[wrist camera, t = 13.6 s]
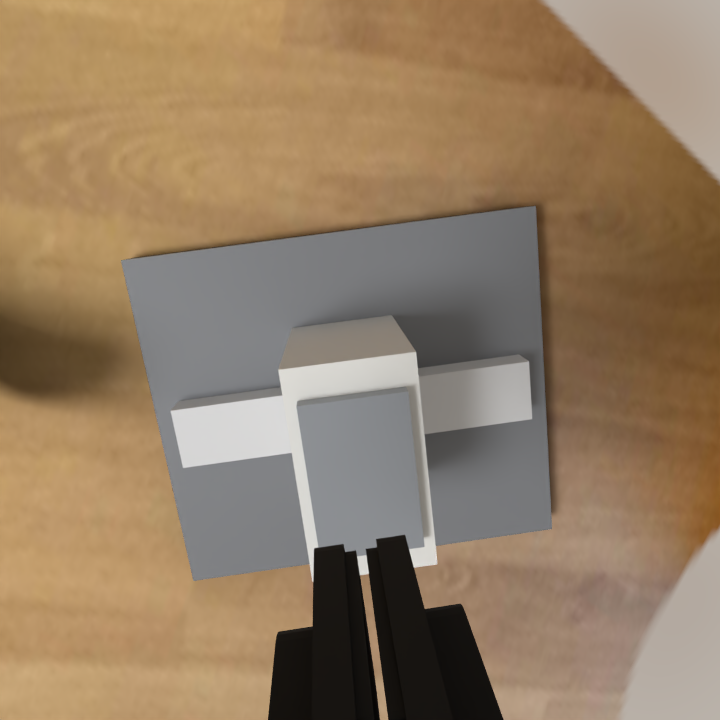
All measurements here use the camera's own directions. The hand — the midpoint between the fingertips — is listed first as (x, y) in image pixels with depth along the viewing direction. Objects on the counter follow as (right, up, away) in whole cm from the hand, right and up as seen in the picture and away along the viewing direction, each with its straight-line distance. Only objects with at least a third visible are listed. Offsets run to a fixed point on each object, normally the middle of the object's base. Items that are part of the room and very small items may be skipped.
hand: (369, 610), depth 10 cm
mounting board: (-1, +3, +15) cm, 15 cm away
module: (-1, +3, +13) cm, 14 cm away
